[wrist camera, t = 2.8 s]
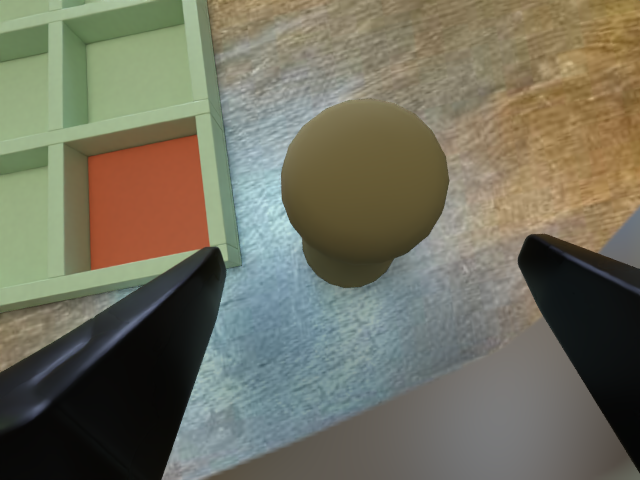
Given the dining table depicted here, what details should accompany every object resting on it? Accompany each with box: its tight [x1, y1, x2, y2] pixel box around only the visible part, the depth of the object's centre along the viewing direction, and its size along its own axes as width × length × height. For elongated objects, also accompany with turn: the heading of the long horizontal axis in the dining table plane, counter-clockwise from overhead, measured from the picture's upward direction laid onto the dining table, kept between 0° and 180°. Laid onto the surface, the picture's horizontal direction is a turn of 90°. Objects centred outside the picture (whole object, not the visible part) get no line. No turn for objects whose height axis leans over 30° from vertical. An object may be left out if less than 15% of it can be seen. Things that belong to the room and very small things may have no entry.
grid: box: [0, 0, 242, 313], centre depth 21 cm, size 39×20×2 cm, turn 11°
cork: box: [281, 99, 449, 288], centre depth 13 cm, size 6×6×11 cm
